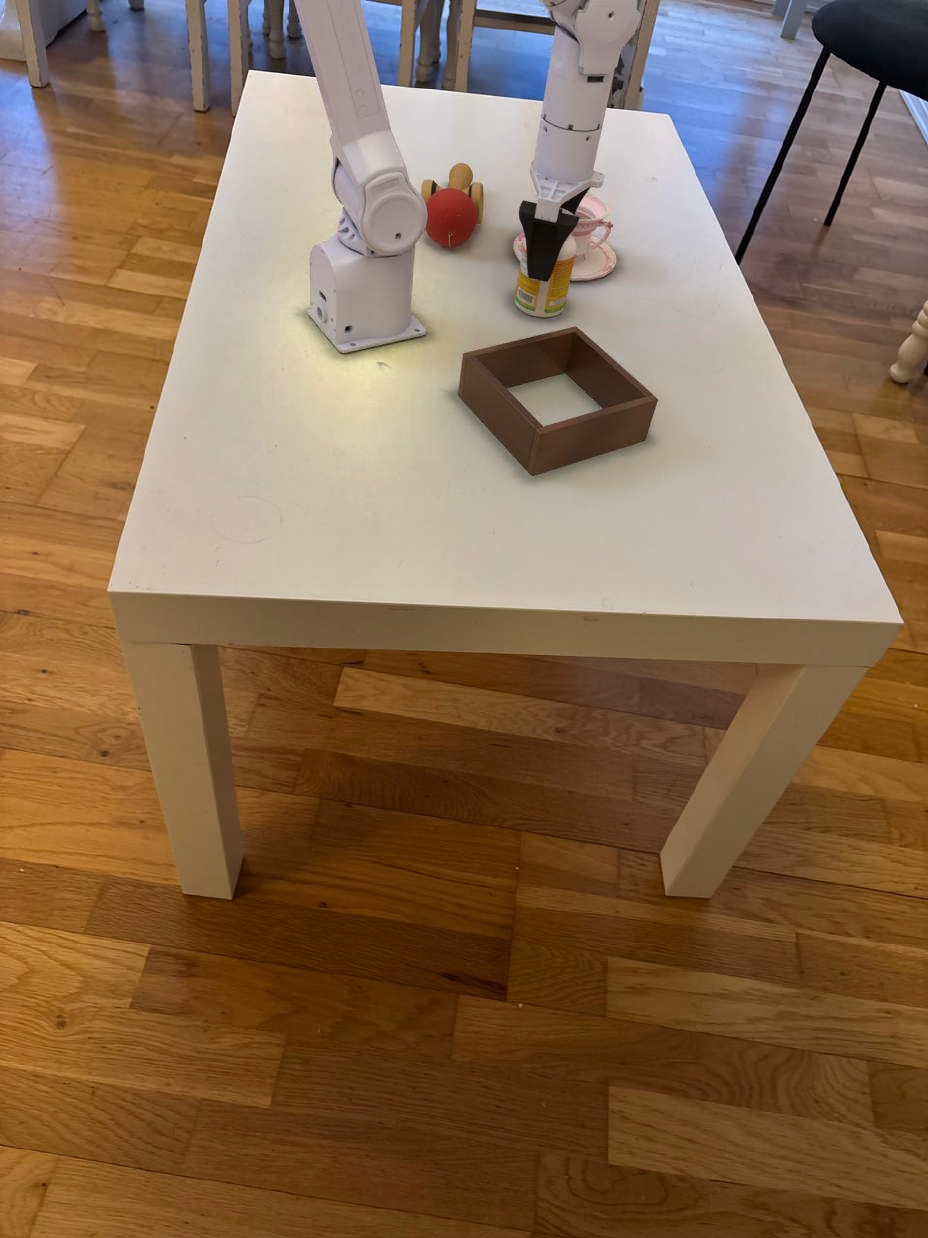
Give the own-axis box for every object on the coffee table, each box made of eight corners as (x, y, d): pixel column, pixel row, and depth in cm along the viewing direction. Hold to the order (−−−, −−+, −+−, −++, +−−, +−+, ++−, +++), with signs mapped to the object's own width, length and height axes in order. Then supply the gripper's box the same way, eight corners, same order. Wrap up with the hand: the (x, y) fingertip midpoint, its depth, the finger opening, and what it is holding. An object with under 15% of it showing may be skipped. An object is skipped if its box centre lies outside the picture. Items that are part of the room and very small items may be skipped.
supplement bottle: (564, 296, 99) (582, 206, 91) (563, 322, 95) (582, 231, 88) (515, 288, 99) (529, 198, 91) (512, 314, 95) (527, 223, 88)
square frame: (531, 476, 78) (540, 433, 75) (457, 395, 85) (462, 352, 81) (645, 440, 83) (658, 399, 80) (567, 366, 90) (576, 325, 86)
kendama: (421, 193, 114) (405, 240, 101) (435, 140, 110) (420, 182, 97) (480, 213, 115) (472, 263, 102) (496, 162, 111) (490, 206, 98)
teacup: (493, 258, 103) (501, 203, 98) (540, 221, 110) (549, 168, 105) (589, 294, 99) (602, 239, 95) (631, 253, 107) (644, 201, 102)
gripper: (603, 157, 78) (571, 303, 88) (625, 101, 87) (594, 238, 98) (523, 140, 78) (501, 287, 89) (553, 86, 88) (530, 224, 98)
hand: (545, 260), depth 93 cm, fingers open, 7 cm apart
